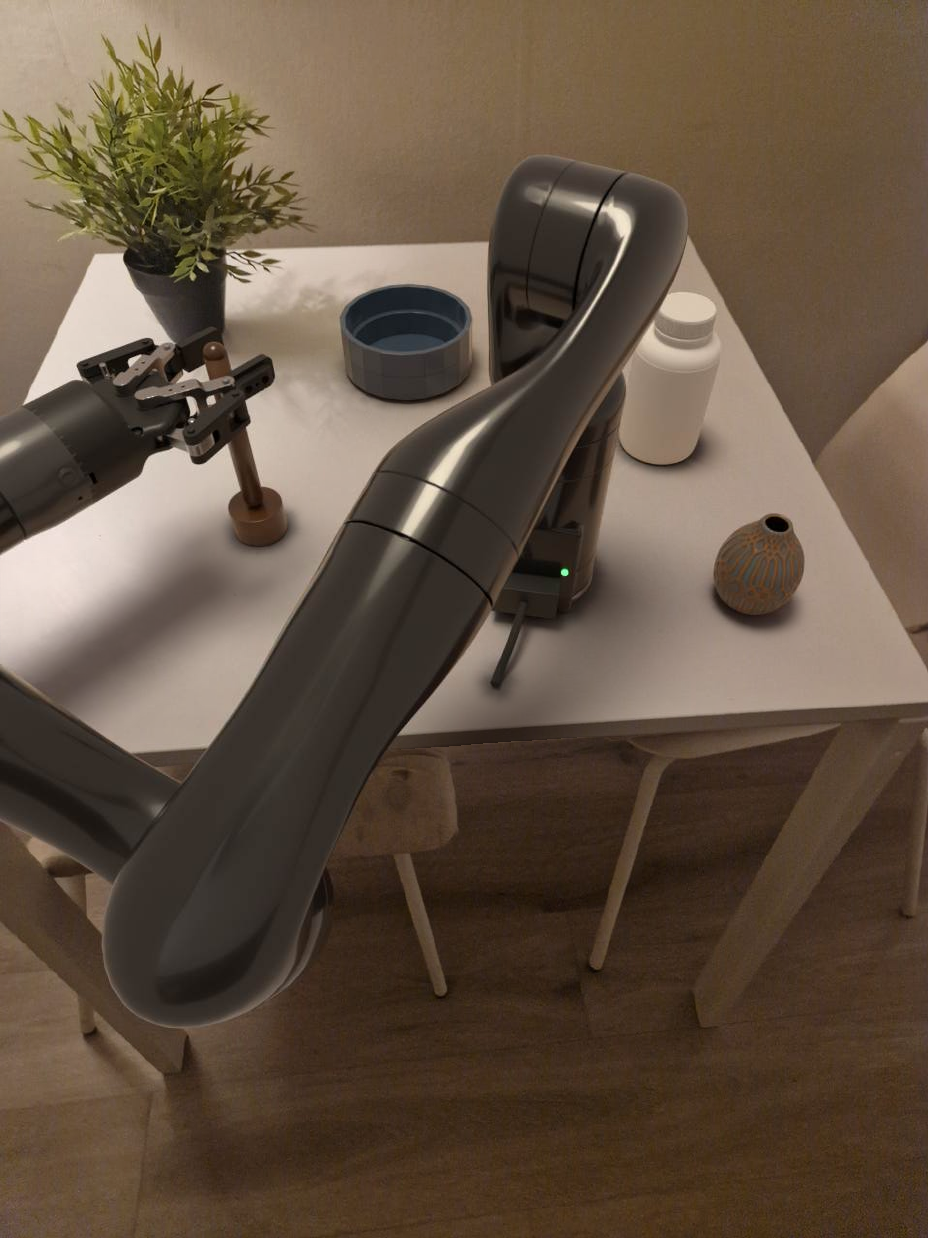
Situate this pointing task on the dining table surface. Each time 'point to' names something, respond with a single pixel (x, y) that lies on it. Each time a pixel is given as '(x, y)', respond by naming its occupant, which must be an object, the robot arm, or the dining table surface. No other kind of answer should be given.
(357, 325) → the bowl
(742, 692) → the dining table surface
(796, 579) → the vase
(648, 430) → the pill bottle
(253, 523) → the wooden peg stand
